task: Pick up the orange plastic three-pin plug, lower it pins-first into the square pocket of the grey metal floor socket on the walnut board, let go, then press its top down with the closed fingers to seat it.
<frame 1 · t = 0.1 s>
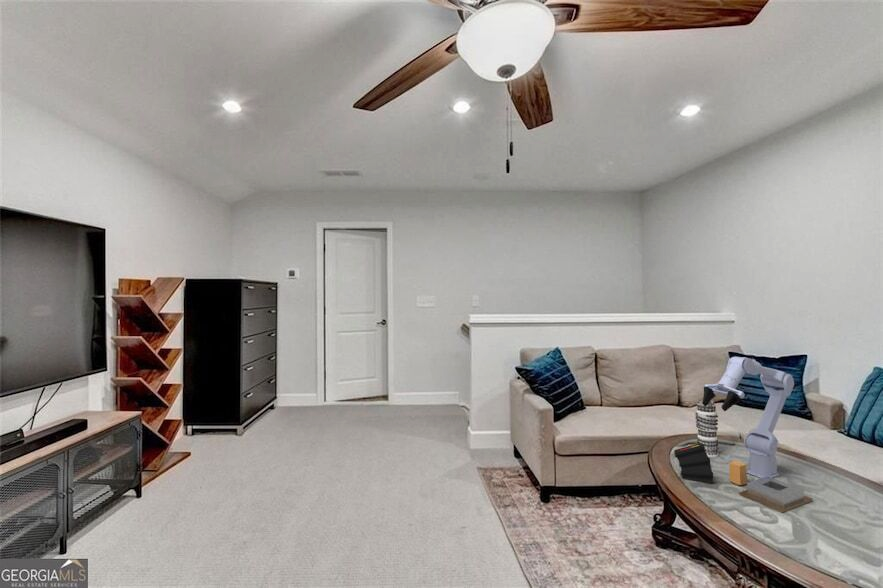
hand: (713, 406, 160), 32 cm above the table, tool tilted 50°, fingers open, 7 cm apart
socket: (775, 498, 152), on the table
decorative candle: (708, 453, 194), on the table
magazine: (693, 480, 168), on the table
plug: (738, 483, 164), on the table
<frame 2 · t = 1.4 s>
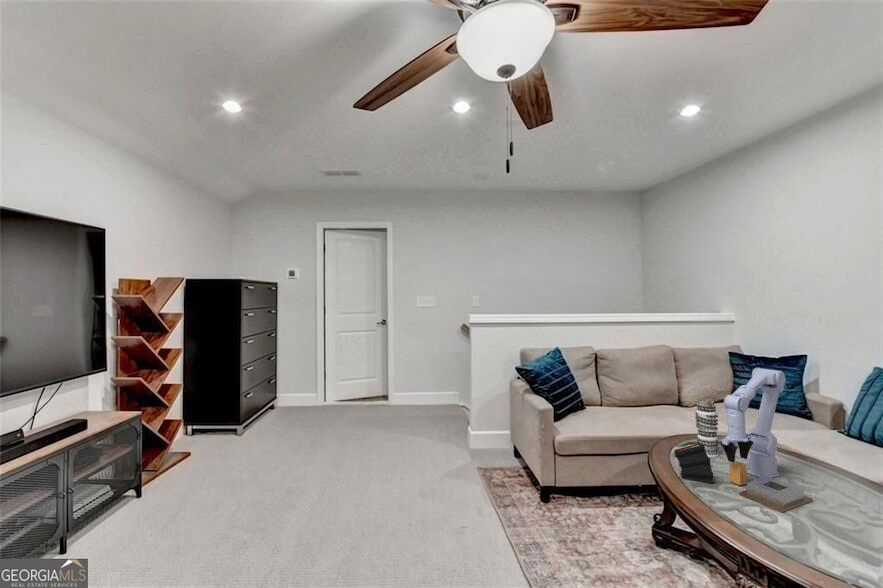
hand: (737, 459, 164), 9 cm above the table, tool pointing down, fingers open, 7 cm apart
nothing on the table moved.
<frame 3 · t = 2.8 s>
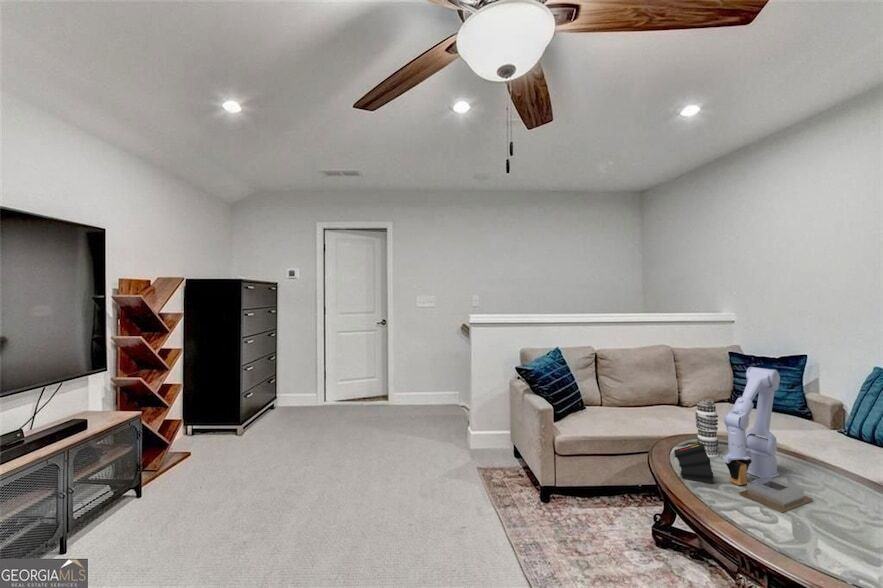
hand: (738, 477, 164), 2 cm above the table, tool pointing down, fingers closed on plug, 4 cm apart
plug: (738, 483, 164), on the table, touching gripper
everything else where it was.
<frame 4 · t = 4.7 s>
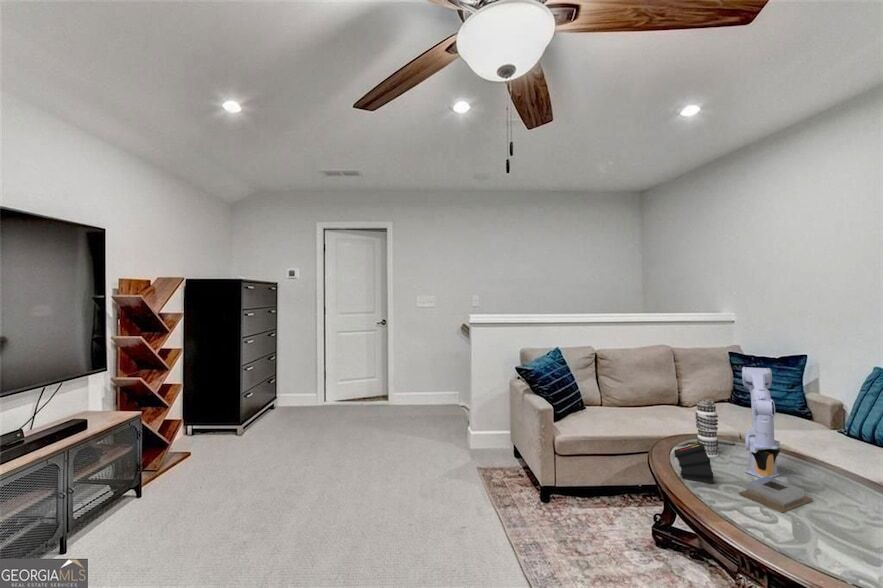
hand: (765, 468, 154), 10 cm above the table, tool pointing down, fingers closed on plug, 4 cm apart
plug: (764, 474, 154), point 7 cm above the table, touching gripper
everything else where it was.
when the fingers open (5 cm above the table, at t = 6.5 s): plug drops 2 cm, resting on socket.
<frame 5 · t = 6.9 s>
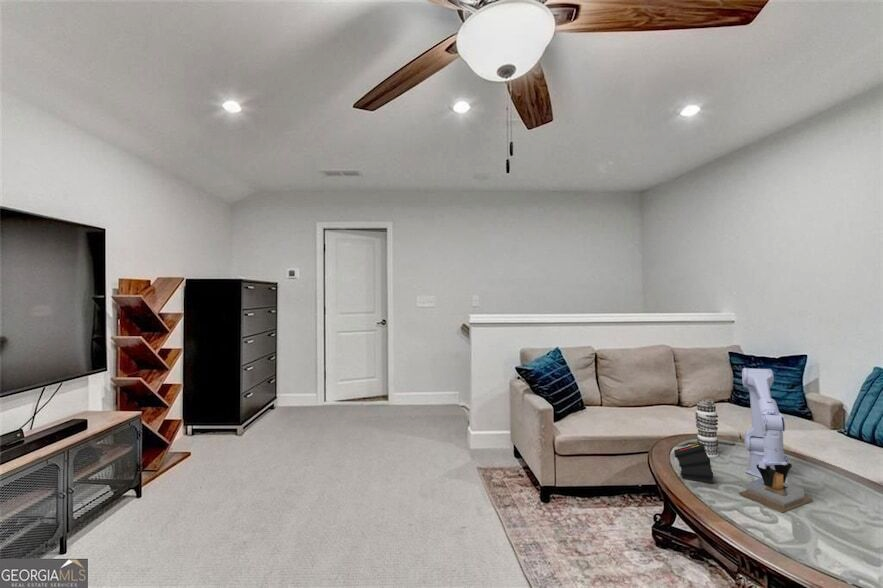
hand: (774, 484, 152), 5 cm above the table, tool pointing down, fingers open, 7 cm apart
plug: (774, 494, 152), point 1 cm above the table, touching socket
everything else where it was.
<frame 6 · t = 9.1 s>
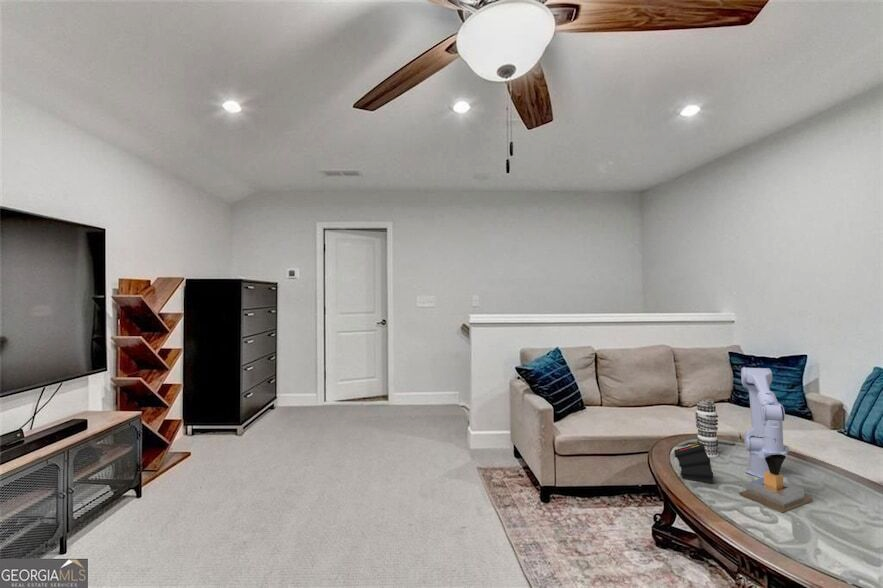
hand: (774, 473, 152), 9 cm above the table, tool pointing down, fingers closed, pressing on plug
plug: (774, 494, 152), point 1 cm above the table, touching gripper, socket
everything else where it was.
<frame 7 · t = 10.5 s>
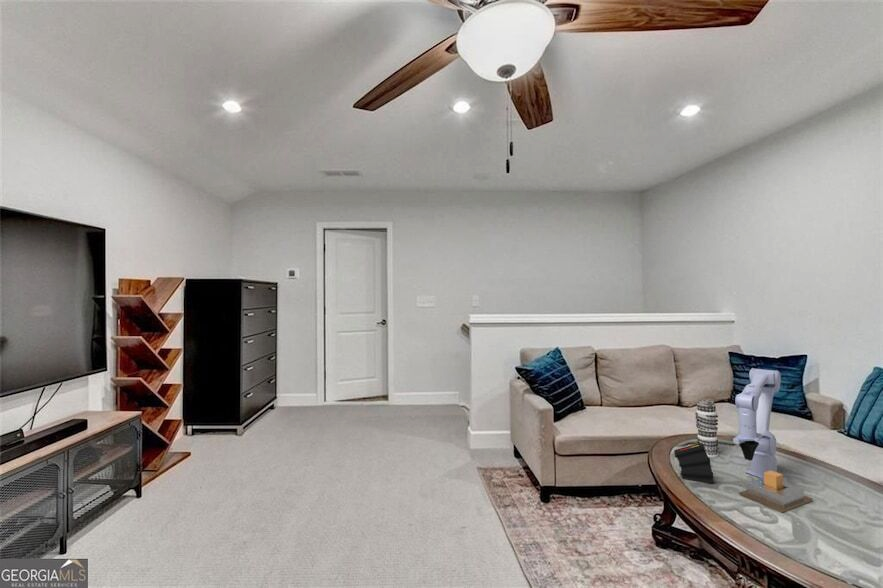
hand: (748, 459, 161), 10 cm above the table, tool pointing down, fingers closed
plug: (774, 494, 152), point 1 cm above the table, touching socket
everything else where it was.
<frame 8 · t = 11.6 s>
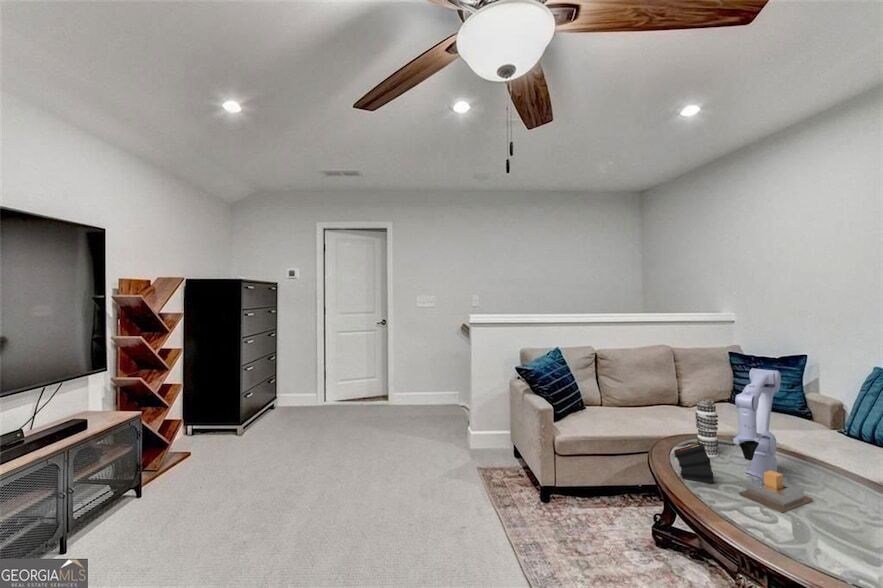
hand: (748, 459, 161), 10 cm above the table, tool pointing down, fingers closed
nothing on the table moved.
at the end: plug 0.3 cm off-centre on the socket, point 1.0 cm above the socket's base; plug tilted 0°; the gripper is holding nothing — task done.
